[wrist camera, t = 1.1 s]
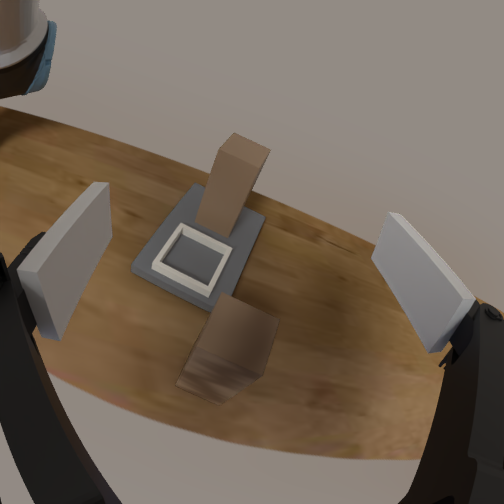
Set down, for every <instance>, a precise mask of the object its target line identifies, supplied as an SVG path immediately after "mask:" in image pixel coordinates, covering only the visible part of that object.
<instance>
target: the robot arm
mask: <svg viewBox="0 0 504 504" xmlns="http://www.w3.org/2000/svg"><path fill="white" fill-rule="evenodd" d="M56 28H57V25H56V23H55V22H53V21H47V18H46V15H45V13H44V12H43V11H42V10H41V9H39V0H0V99H3V98H7V97H12V96H17V95H27V94H28V93H31V92H36V91H39V90H41V89H42V88H44V86H45V85H46V83H47V80H48V77H49V73H50V67H51V60H52V56H53V51H54V45H55V38H56V30H57V29H56ZM112 237H113V236H112V225H111V211H110V193H109V183H107V182H93V183H92V184H91V185H90V186H89V187H88V188H87V189H86V190H85V191H84V192H83V193H82V194H81V195H80V196H79V197H78V198H77V199H76V201H75V202H74V203H73V204H72V205H71V206H70V207H69V208H68V209H67V210H66V211H65V212H64V213H63V214H62V216H61V217H60V218H59V219H58V220H57V221H56V222H55V223H54V224H53V226H52V227H51V228H50V229H49V230H48V231H47V232H41V233H40V234H38V235H37V236H35V237H34V238H32V239H31V240H30V241H29V243H28V244H27V245H26V246H25V248H23V250H22V251H21V252H20V255H18V256H17V257H16V258H15V259H14V261H13V262H12V263H11V264H10V266H9V267H8V268H7V266H6V263H5V260H4V257H3V255H2V253H0V423H1V426H2V429H3V432H4V435H5V437H6V440H7V443H8V445H9V448H10V451H11V453H12V456H13V458H14V461H15V463H16V466H17V468H18V470H19V472H20V475H21V477H22V479H23V481H24V483H25V485H26V487H27V489H28V492H29V494H30V496H31V497H32V500H33V501H34V503H35V504H122V503H121V501H120V500H119V499H118V497H117V496H116V495H115V493H114V492H113V490H112V489H111V488H110V487H109V485H108V483H107V482H106V480H105V479H104V478H103V476H102V474H101V473H100V471H99V470H98V468H97V467H96V466H95V464H94V462H93V461H92V459H91V457H90V456H89V454H88V452H87V451H86V449H85V447H84V446H83V444H82V442H81V440H80V439H79V437H78V435H77V433H76V432H75V429H74V428H73V426H72V424H71V422H70V420H69V418H68V416H67V414H66V412H65V410H64V408H63V406H62V404H61V402H60V400H59V398H58V396H57V393H56V391H55V389H54V387H53V385H52V382H51V380H50V378H49V375H48V373H47V370H46V368H45V365H44V363H43V360H42V358H41V355H40V353H39V350H38V347H37V344H36V342H35V339H34V337H33V335H32V333H33V331H34V329H35V327H36V325H37V327H38V330H39V332H40V334H41V337H44V338H48V339H53V340H58V341H61V338H62V336H63V334H64V332H65V329H66V327H67V325H68V323H69V320H70V318H71V316H72V314H73V312H74V310H75V307H76V305H77V303H78V301H79V299H80V297H81V295H82V293H83V291H84V289H85V287H86V285H87V283H88V281H89V279H90V277H91V275H92V273H93V271H94V269H95V268H96V266H97V264H98V262H99V260H100V258H101V256H102V255H103V253H104V251H105V249H106V247H107V246H108V244H109V242H110V240H111V239H112ZM371 259H372V260H373V262H374V264H375V265H376V267H377V268H378V270H379V271H380V273H381V274H382V276H383V278H384V279H385V281H386V282H387V284H388V286H389V287H390V289H391V290H392V292H393V294H394V295H395V297H396V298H397V300H398V302H399V303H400V305H401V307H402V308H403V310H404V312H405V313H406V315H407V317H408V319H409V320H410V322H411V324H412V326H413V327H414V329H415V331H416V333H417V334H418V336H419V338H420V340H421V341H422V343H423V345H424V347H425V349H426V351H427V352H428V353H435V352H441V351H442V350H443V348H444V347H445V346H446V344H447V343H448V341H450V343H451V344H452V348H451V349H450V351H449V352H448V353H447V355H446V356H445V357H444V359H443V360H442V361H441V362H440V364H439V367H441V366H442V365H443V364H444V363H446V366H445V367H444V369H445V372H444V377H443V382H442V387H441V391H440V396H439V400H438V404H437V408H436V412H435V416H434V419H433V423H432V426H431V430H430V433H429V437H428V440H427V443H426V446H425V449H424V452H423V455H422V458H421V461H420V464H419V467H418V470H417V472H416V475H415V477H414V480H413V482H412V485H411V487H410V489H409V492H408V493H407V494H406V496H405V497H404V498H403V499H402V500H401V501H400V502H399V503H398V504H504V320H503V317H502V315H501V314H500V312H499V311H498V310H497V309H496V308H494V307H493V306H491V305H489V304H486V303H483V304H481V305H480V304H479V303H478V301H477V300H476V298H475V297H474V296H473V295H472V293H471V292H470V291H469V290H468V288H467V287H466V286H465V285H464V283H463V282H462V281H461V280H460V279H459V277H458V276H457V275H456V274H455V273H454V272H453V270H452V269H451V268H450V267H449V266H448V265H447V263H446V262H445V261H444V260H443V259H442V258H441V257H440V255H439V254H438V253H437V252H436V251H435V250H434V249H433V248H432V247H431V246H430V245H429V243H428V242H427V241H426V240H425V239H424V238H423V237H422V236H421V235H420V234H419V233H418V232H417V231H416V230H415V229H414V228H413V227H412V225H410V223H409V222H408V221H407V220H406V219H405V218H404V217H403V216H402V215H401V214H398V213H392V212H388V213H387V216H386V219H385V222H384V225H383V228H382V230H381V233H380V236H379V239H378V241H377V244H376V247H375V249H374V252H373V254H372V257H371ZM0 504H2V503H1V499H0Z"/></svg>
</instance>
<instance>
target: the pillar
mask: <svg viewBox="0 0 504 504" xmlns="http://www.w3.org/2000/svg"><path fill="white" fill-rule="evenodd" d="M279 321H280V319H278V318H276V317H274V316H272V315H270V314H267V313H265V312H263V311H261V310H259V309H257V308H255V307H252V306H250V305H248V304H246V303H244V302H242V301H240V300H238V299H236V298H234V297H232V296H229V295H227V294H225V293H223V292H221V294H220V296H219V298H218V300H217V302H216V304H215V306H214V308H213V310H212V311H211V313H210V315H209V317H208V319H207V321H206V323H205V325H204V327H203V329H202V331H201V332H200V334H199V336H198V338H197V340H196V342H195V344H194V346H193V348H192V350H191V352H190V354H189V356H188V359H187V361H186V363H185V365H184V367H183V369H182V372H181V374H180V376H179V378H178V380H177V383H176V385H175V386H177V387H179V388H181V389H183V390H185V391H187V392H190V393H192V394H194V395H196V396H199V397H201V398H203V399H205V400H208V401H210V402H212V403H215V404H217V405H221V404H223V403H224V402H226V401H227V400H228V399H230V398H231V397H233V396H234V395H236V394H237V393H239V392H240V391H242V390H243V389H244V388H246V387H247V386H249V385H250V384H252V383H253V382H254V381H256V380H257V379H259V378H260V377H261V376H263V373H264V370H265V367H266V364H267V360H268V357H269V354H270V351H271V348H272V344H273V341H274V338H275V334H276V331H277V328H278V324H279Z"/></svg>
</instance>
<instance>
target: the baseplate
mask: <svg viewBox="0 0 504 504" xmlns="http://www.w3.org/2000/svg"><path fill="white" fill-rule="evenodd" d="M269 153H270V149H268V148H266V147H264V146H262V145H260V144H257V143H255V142H253V141H251V140H249V139H247V138H245V137H242V136H240V135H238V134H236V133H233V134H232V135H231V136H230V137H229V139H228V140H227V141H226V142H225V143H224V144H223V145H222V146H221V147H220V148H219V150H218V153H217V156H216V158H215V161H214V164H213V167H212V170H211V173H210V176H209V179H208V182H207V185H206V188H205V187H203V186H201V185H199V184H197V183H194V184H193V186H192V187H191V188H190V189H189V190H188V192H187V193H186V194H185V195H184V197H183V198H182V199H181V200H180V201H179V203H178V204H177V205H176V206H175V208H174V209H173V210H172V211H171V213H170V214H169V215H168V216H167V218H166V219H165V220H164V222H163V223H162V224H161V225H160V227H159V228H158V229H157V231H156V232H155V233H154V235H153V236H152V237H151V239H150V240H149V241H148V242H147V244H146V245H145V246H144V248H143V249H142V251H141V252H140V253H139V255H138V256H137V257H136V259H135V260H134V261H133V263H132V264H131V272H132V273H134V274H136V275H138V276H140V277H142V278H144V279H145V280H147V281H149V282H151V283H153V284H155V285H157V286H159V287H161V288H162V289H164V290H166V291H168V292H170V293H172V294H174V295H176V296H178V297H180V298H182V299H184V300H186V301H188V302H190V303H192V304H194V305H196V306H198V307H200V308H202V309H204V310H206V311H208V312H210V313H211V311H212V310H213V308H214V306H215V304H216V302H217V300H218V298H219V296H220V294H221V292H223V293H225V294H227V295H229V296H231V295H232V293H233V291H234V288H235V286H236V284H237V282H238V279H239V277H240V275H241V272H242V270H243V268H244V265H245V263H246V261H247V259H248V256H249V254H250V252H251V249H252V247H253V245H254V243H255V240H256V238H257V236H258V233H259V231H260V229H261V226H262V224H263V222H264V220H265V216H263V215H261V214H259V213H257V212H255V211H253V210H251V209H249V208H247V207H245V204H246V201H247V199H248V197H249V195H250V193H251V191H252V189H253V186H254V184H255V182H256V180H257V178H258V176H259V174H260V172H261V169H262V167H263V165H264V163H265V161H266V159H267V157H268V155H269Z"/></svg>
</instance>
